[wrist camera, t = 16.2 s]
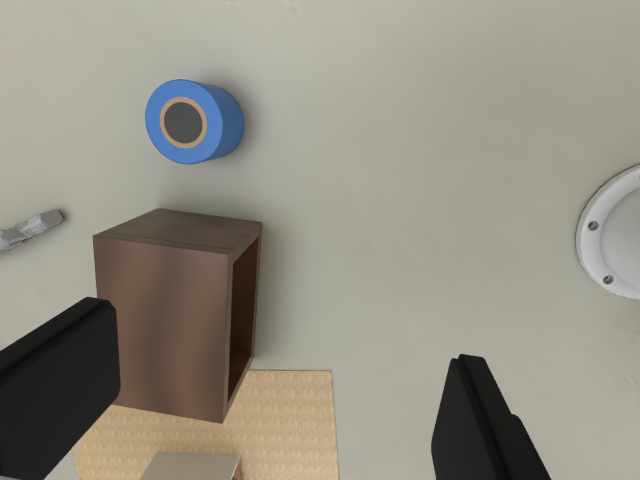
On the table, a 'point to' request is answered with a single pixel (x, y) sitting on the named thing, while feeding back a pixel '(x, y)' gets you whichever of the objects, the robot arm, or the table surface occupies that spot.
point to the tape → (193, 121)
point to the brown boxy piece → (181, 309)
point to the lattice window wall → (28, 229)
